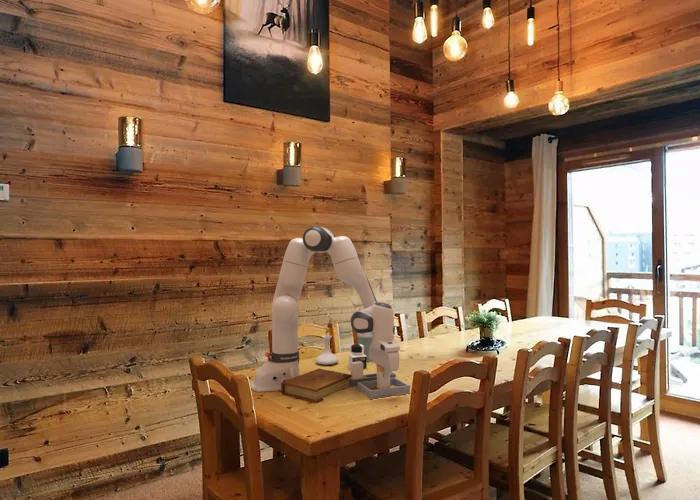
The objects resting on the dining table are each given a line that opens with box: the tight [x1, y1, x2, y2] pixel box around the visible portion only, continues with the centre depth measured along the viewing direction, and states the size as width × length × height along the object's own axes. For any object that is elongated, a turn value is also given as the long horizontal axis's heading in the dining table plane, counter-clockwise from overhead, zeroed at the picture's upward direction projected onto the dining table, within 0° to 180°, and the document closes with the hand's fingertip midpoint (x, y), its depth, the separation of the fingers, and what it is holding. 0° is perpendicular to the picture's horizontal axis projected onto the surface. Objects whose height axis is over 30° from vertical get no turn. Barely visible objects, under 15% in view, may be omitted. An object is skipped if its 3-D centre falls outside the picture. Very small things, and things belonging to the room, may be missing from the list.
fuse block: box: [349, 372, 397, 388], centre depth 211 cm, size 22×7×4 cm, turn 113°
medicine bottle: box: [348, 343, 368, 371], centre depth 234 cm, size 7×7×12 cm
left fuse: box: [350, 361, 364, 379], centre depth 208 cm, size 4×3×9 cm, turn 112°
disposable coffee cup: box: [356, 333, 372, 362], centre depth 251 cm, size 11×11×15 cm
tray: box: [356, 377, 411, 401], centre depth 198 cm, size 18×13×4 cm
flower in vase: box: [315, 313, 339, 366], centre depth 245 cm, size 13×11×25 cm
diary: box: [280, 368, 352, 404], centre depth 201 cm, size 23×19×6 cm
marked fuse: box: [376, 365, 391, 389], centre depth 198 cm, size 4×3×9 cm, turn 113°
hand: (383, 376), depth 198 cm, fingers open, 3 cm apart
